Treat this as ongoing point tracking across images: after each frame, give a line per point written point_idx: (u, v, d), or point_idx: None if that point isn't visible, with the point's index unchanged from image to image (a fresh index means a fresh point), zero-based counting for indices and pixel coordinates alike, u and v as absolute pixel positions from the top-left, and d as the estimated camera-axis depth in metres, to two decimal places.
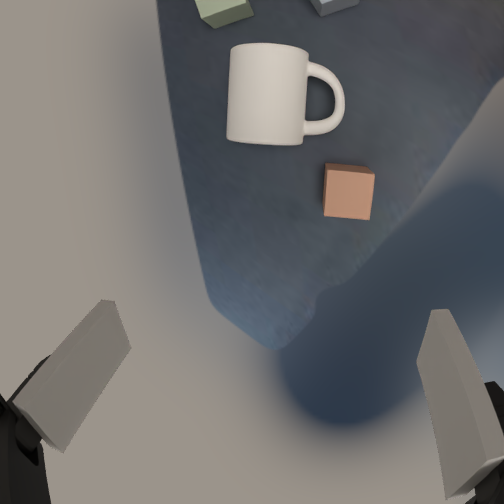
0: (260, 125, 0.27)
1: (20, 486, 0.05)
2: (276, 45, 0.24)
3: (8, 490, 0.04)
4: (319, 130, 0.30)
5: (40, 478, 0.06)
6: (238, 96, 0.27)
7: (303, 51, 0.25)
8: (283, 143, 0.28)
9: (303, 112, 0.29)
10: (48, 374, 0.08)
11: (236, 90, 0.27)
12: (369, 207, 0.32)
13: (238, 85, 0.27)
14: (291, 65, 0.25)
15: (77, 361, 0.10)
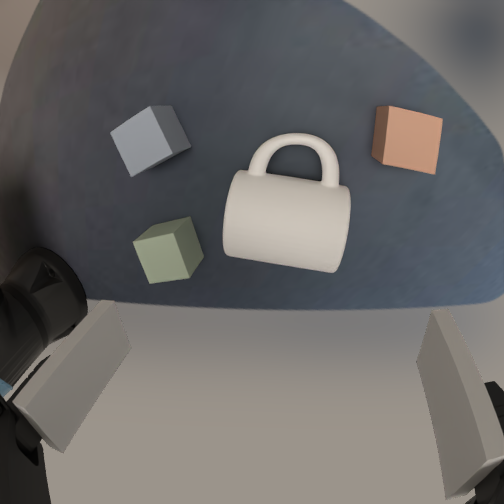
0: (323, 243, 0.24)
1: (20, 486, 0.05)
2: (226, 215, 0.25)
3: (8, 490, 0.04)
4: (334, 168, 0.25)
5: (40, 477, 0.06)
6: (286, 260, 0.26)
7: (234, 180, 0.26)
8: (347, 218, 0.24)
9: (311, 185, 0.26)
10: (48, 374, 0.08)
11: (278, 260, 0.27)
12: (428, 117, 0.21)
13: (272, 258, 0.27)
14: (252, 199, 0.25)
15: (77, 361, 0.10)
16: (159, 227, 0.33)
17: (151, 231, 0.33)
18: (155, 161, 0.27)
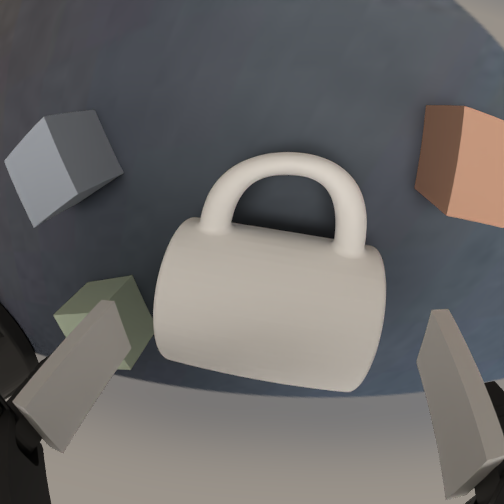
0: (331, 366, 0.13)
1: (20, 486, 0.05)
2: (155, 313, 0.13)
3: (8, 490, 0.04)
4: (358, 221, 0.13)
5: (40, 478, 0.06)
6: (265, 380, 0.15)
7: (171, 246, 0.14)
8: (380, 323, 0.12)
9: (314, 254, 0.14)
10: (48, 374, 0.08)
11: (253, 378, 0.15)
12: None
13: (243, 376, 0.15)
14: (199, 286, 0.13)
15: (77, 362, 0.10)
16: (90, 290, 0.22)
17: (79, 297, 0.21)
18: (58, 206, 0.15)
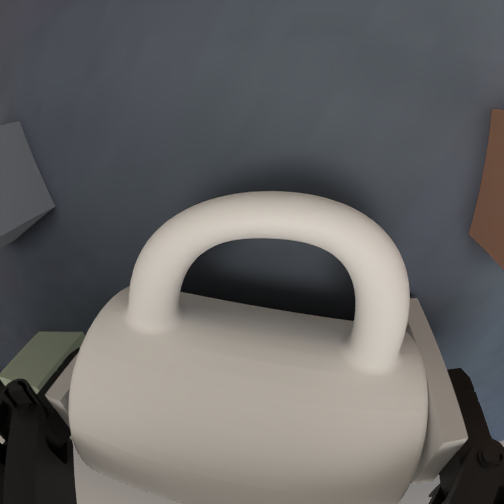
0: None
1: (46, 486, 0.05)
2: (75, 442, 0.07)
3: (33, 491, 0.05)
4: (397, 321, 0.07)
5: (68, 476, 0.07)
6: None
7: (83, 350, 0.08)
8: (410, 476, 0.06)
9: (316, 373, 0.07)
10: None
11: None
12: None
13: None
14: (124, 424, 0.07)
15: None
16: (38, 347, 0.15)
17: (25, 355, 0.15)
18: None
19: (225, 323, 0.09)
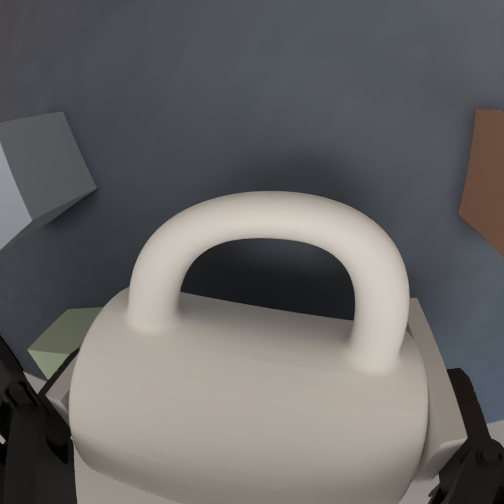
0: None
1: (47, 486, 0.05)
2: (75, 442, 0.07)
3: (34, 491, 0.05)
4: (396, 320, 0.07)
5: (68, 476, 0.07)
6: None
7: (83, 350, 0.08)
8: (411, 476, 0.06)
9: (316, 373, 0.07)
10: None
11: None
12: None
13: None
14: (125, 424, 0.07)
15: None
16: (68, 322, 0.18)
17: (56, 329, 0.17)
18: (14, 233, 0.11)
19: (225, 323, 0.09)
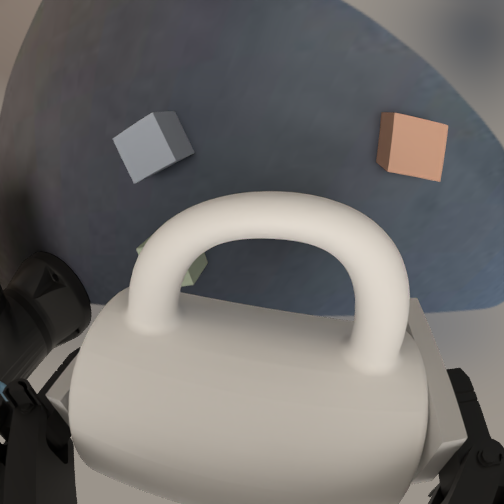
0: None
1: (47, 486, 0.05)
2: (75, 443, 0.07)
3: (34, 491, 0.05)
4: (397, 321, 0.07)
5: (68, 476, 0.07)
6: None
7: (83, 350, 0.08)
8: (411, 477, 0.06)
9: (316, 373, 0.07)
10: None
11: None
12: (433, 123, 0.21)
13: None
14: (124, 424, 0.07)
15: None
16: None
17: None
18: (158, 168, 0.27)
19: (225, 323, 0.09)
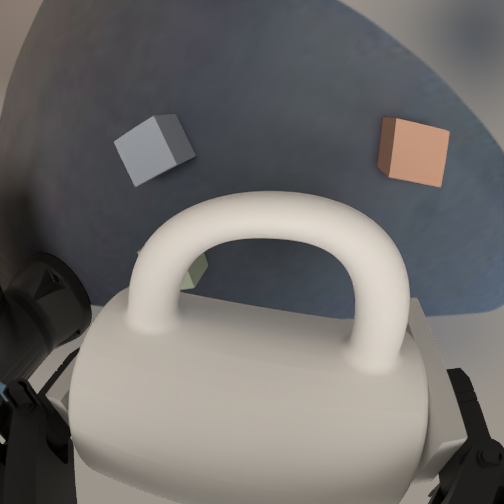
0: None
1: (47, 486, 0.05)
2: (75, 442, 0.07)
3: (34, 491, 0.05)
4: (397, 321, 0.07)
5: (68, 476, 0.07)
6: None
7: (83, 350, 0.08)
8: (411, 477, 0.06)
9: (316, 373, 0.07)
10: None
11: None
12: (435, 129, 0.21)
13: None
14: (124, 424, 0.07)
15: None
16: None
17: None
18: (159, 172, 0.27)
19: (225, 323, 0.09)
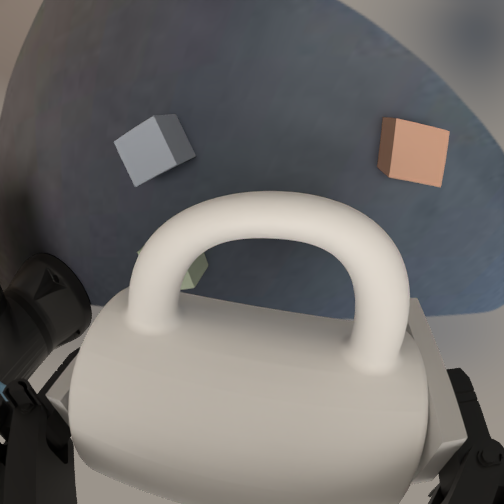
0: None
1: (47, 486, 0.05)
2: (75, 442, 0.07)
3: (34, 491, 0.05)
4: (397, 321, 0.07)
5: (68, 476, 0.07)
6: None
7: (83, 350, 0.08)
8: (411, 477, 0.06)
9: (316, 373, 0.07)
10: None
11: None
12: (435, 129, 0.21)
13: None
14: (124, 424, 0.07)
15: None
16: None
17: None
18: (159, 172, 0.27)
19: (225, 323, 0.09)
